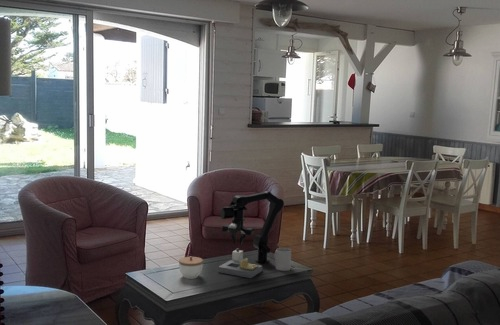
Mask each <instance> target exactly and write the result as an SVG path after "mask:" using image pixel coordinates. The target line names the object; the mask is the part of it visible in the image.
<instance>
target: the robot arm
mask: <svg viewBox="0 0 500 325" xmlns="http://www.w3.org/2000/svg"><path fill="white" fill-rule="evenodd" d="M264 200H267V202H269V206H268V207H269V209H268V210H269V211H268V213H267V215H266V218H265V221H264V223H263V225H262V228H261V231H260V233H259V234H258V235H257V234H256V230H255V228H253V227H247V228H245V225H244V222H245V218H244V216H245V214H244V213H245V211H247V210H248V208H247V207H246V206H247V205H248V204H250V203H254V202H258V201H264ZM284 205H285V202H284V200H283V199H282V198H279V197H277V196H276V195H274V194H273V193H272V192H271V191H268V190H265V191H262V192H258V193H251V194H247V195H246V194H245V195H244V194H243V195H242V194H239V195H238V194H237V195H235V196H233V198H232V200H231V202H230V203H229V205H228V206H222V207H221V210H220V212H219V214H220V219H221V220H228V219H232V221H231V223H230V224H225V225H222V227H221V231H222V232H224V233H225V232H227V234H229V235H230V236H231V238H232V241H233V244H234V245H236V243H237V233H238V232H239V237H240V238H239V245H240V246H242V244H243V242H244V241H245V240H244V239H245V238H246V236H252V235H254V234H255V236H254V238H253V240H252V241H253V242H252V244H253V247H254V248H255V250H256V251H257V259H256V260H255V263H261V264H267V263H268V262H270V259H268V254H270V253H271V248H270V247H269V246H268V243H269V241H268V240H269V234H270V232H271V229H272V226H273V224H274V222H275V220H276V217H277V215H278V214H279V213H280V212H281V210H282V209H283V208H284ZM240 232H241V233H240Z"/></svg>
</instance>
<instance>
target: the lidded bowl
mask: <svg viewBox="0 0 500 325" xmlns="http://www.w3.org/2000/svg"><path fill="white" fill-rule="evenodd" d="M203 261H204V259H203V258H201V257H197V256H191V255H190V256H185V257H181V258H179V260H178V263H179V265H178V266H179V267H178V268H179V273H180V274H181V275H182V276H183V277H184V278H183V279H188V280H192V279H193V280H194V279H197V278H198V277H199V275H200V274H201V273H202V270H203V263H204V262H203Z"/></svg>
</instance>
